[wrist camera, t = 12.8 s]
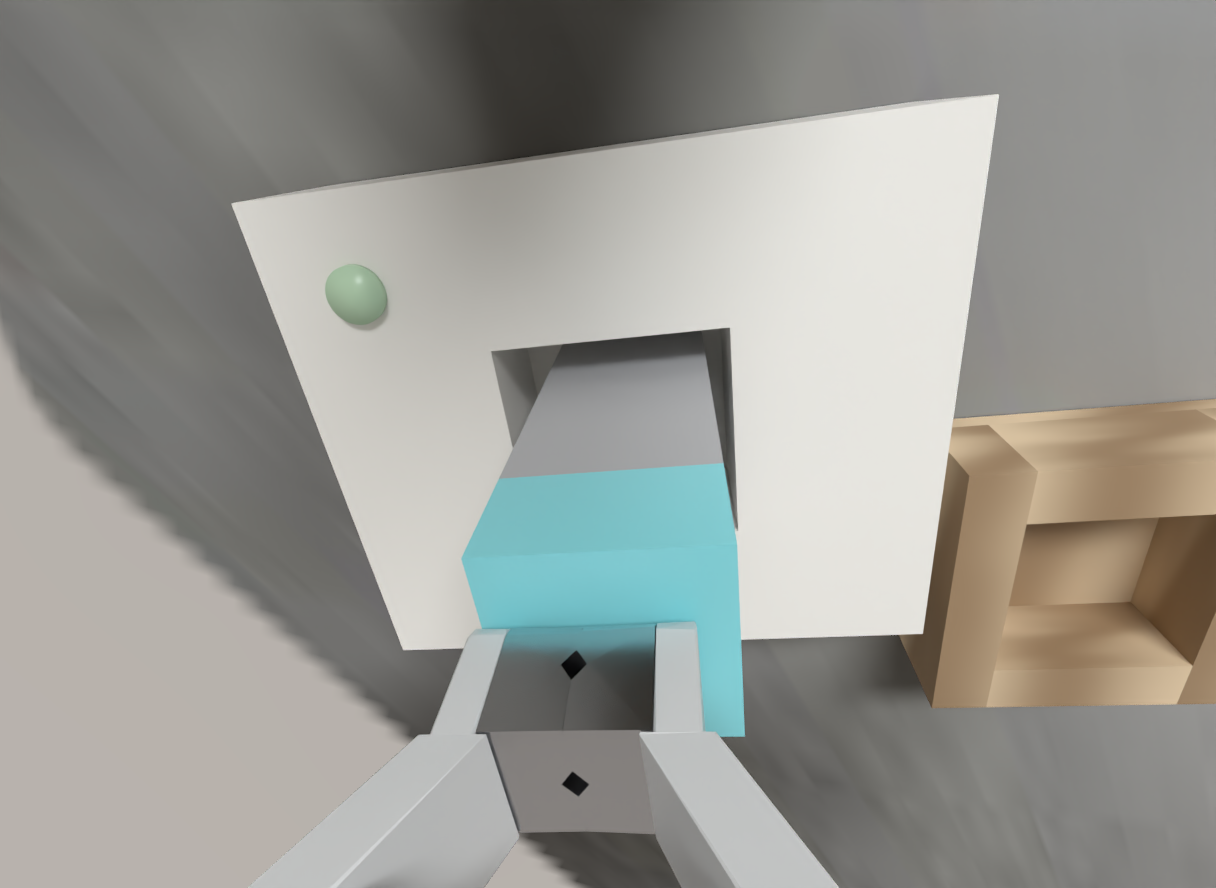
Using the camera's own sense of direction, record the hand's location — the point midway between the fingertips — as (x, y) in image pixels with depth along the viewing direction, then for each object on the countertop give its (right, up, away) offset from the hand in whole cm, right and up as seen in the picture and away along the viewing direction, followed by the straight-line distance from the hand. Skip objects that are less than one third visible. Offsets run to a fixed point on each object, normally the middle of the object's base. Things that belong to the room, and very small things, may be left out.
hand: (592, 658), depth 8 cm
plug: (+1, +4, +8) cm, 9 cm away
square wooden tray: (+14, 0, +10) cm, 17 cm away
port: (+1, +5, +9) cm, 10 cm away
